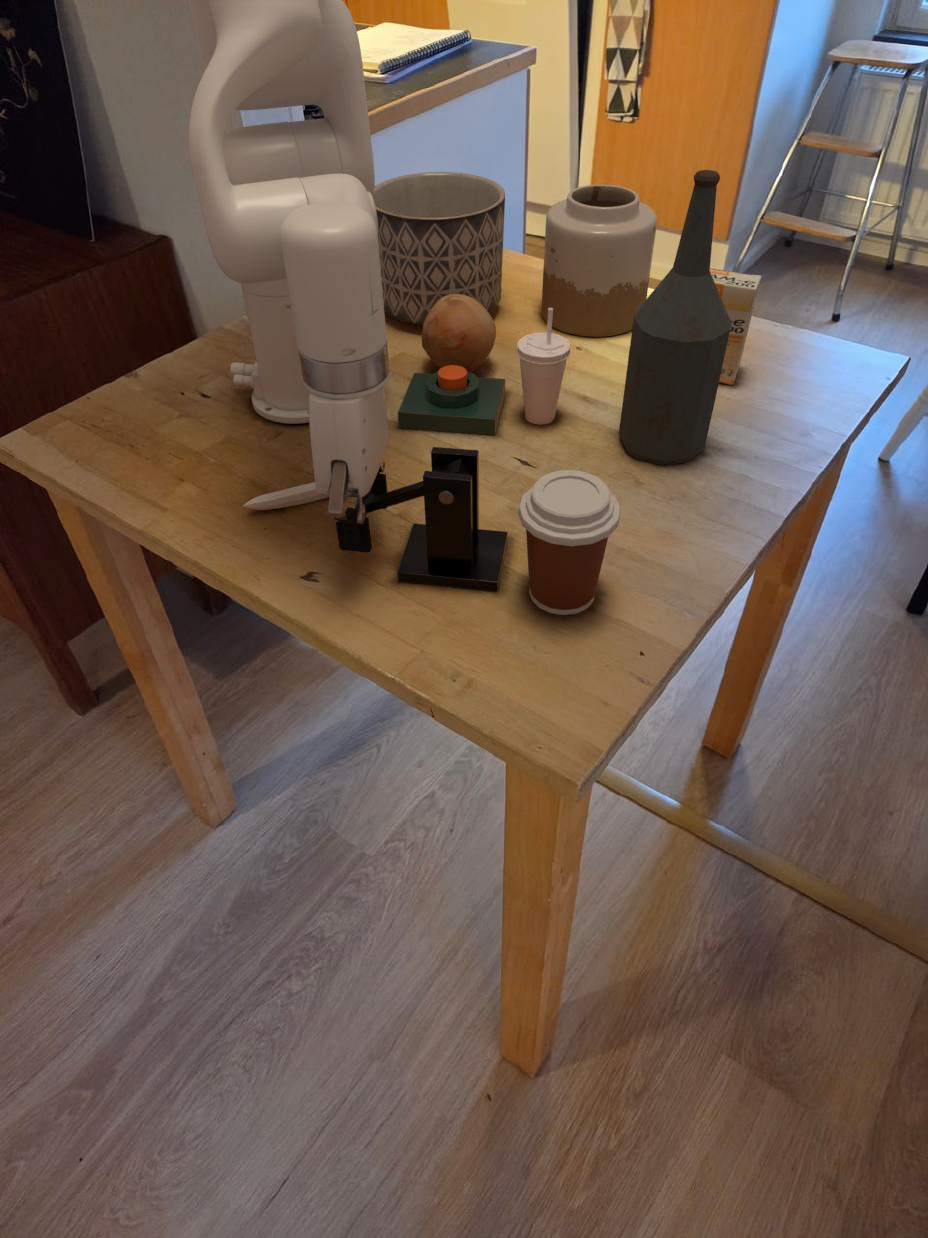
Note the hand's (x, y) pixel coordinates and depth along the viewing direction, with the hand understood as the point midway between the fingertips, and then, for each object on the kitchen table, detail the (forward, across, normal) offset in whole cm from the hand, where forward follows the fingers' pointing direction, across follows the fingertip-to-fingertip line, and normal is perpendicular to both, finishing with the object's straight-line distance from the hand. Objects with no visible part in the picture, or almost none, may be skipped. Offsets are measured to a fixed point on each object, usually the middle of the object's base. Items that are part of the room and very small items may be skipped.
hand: (364, 526), depth 85 cm
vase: (+4, -59, +20) cm, 62 cm away
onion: (+4, -40, +3) cm, 40 cm away
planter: (+4, -58, -3) cm, 58 cm away
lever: (-3, 0, +5) cm, 6 cm away
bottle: (+4, -25, +30) cm, 39 cm away
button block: (+3, -29, +4) cm, 29 cm away
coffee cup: (+4, +3, +20) cm, 21 cm away
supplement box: (+4, -43, +36) cm, 56 cm away
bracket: (+3, 0, +9) cm, 10 cm away
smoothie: (+4, -29, +15) cm, 33 cm away
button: (0, -29, +4) cm, 29 cm away
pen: (+4, -8, -9) cm, 13 cm away
